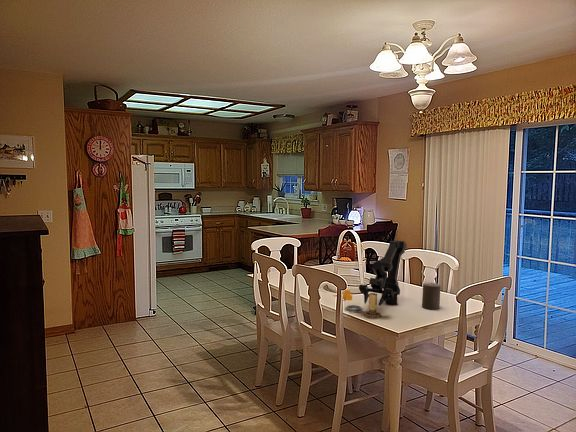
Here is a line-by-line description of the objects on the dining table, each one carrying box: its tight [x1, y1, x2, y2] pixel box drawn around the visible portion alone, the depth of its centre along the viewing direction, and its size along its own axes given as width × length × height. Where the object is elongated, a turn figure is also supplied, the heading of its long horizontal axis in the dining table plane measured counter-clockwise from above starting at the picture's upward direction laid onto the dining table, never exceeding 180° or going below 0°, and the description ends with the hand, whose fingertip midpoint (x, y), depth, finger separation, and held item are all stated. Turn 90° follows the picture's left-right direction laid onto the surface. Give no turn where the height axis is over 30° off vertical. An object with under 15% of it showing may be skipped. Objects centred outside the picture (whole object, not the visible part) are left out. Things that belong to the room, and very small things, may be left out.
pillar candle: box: [421, 282, 441, 311], centre depth 250 cm, size 10×10×15 cm
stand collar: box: [363, 310, 382, 320], centre depth 233 cm, size 9×9×1 cm
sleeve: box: [367, 292, 378, 315], centre depth 232 cm, size 4×4×12 cm
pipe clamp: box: [342, 289, 353, 301], centre depth 269 cm, size 12×4×6 cm, turn 23°
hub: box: [344, 304, 364, 313], centre depth 244 cm, size 10×10×1 cm
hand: (371, 304), depth 231 cm, fingers open, 8 cm apart
